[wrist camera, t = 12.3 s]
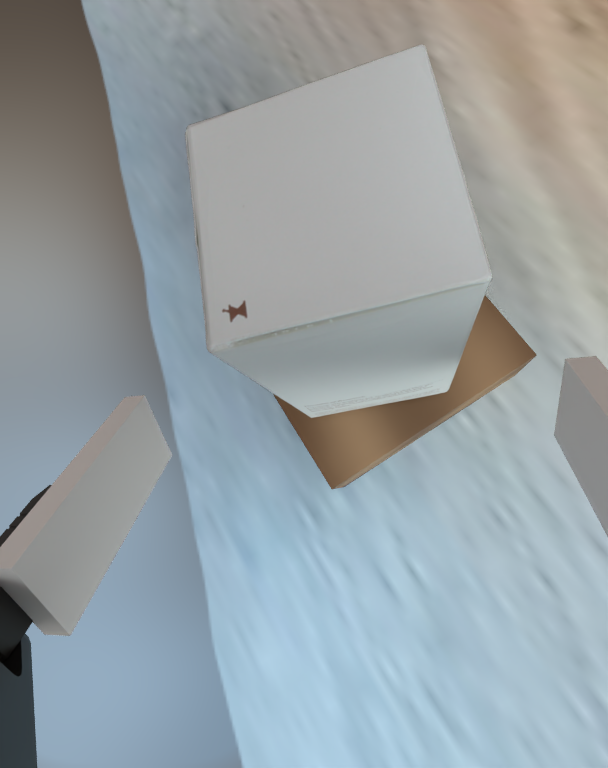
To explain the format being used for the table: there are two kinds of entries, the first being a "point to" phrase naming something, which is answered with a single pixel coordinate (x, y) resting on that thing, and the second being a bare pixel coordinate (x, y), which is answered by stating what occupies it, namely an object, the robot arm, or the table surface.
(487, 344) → the walnut box
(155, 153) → the table surface
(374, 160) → the supplement box
